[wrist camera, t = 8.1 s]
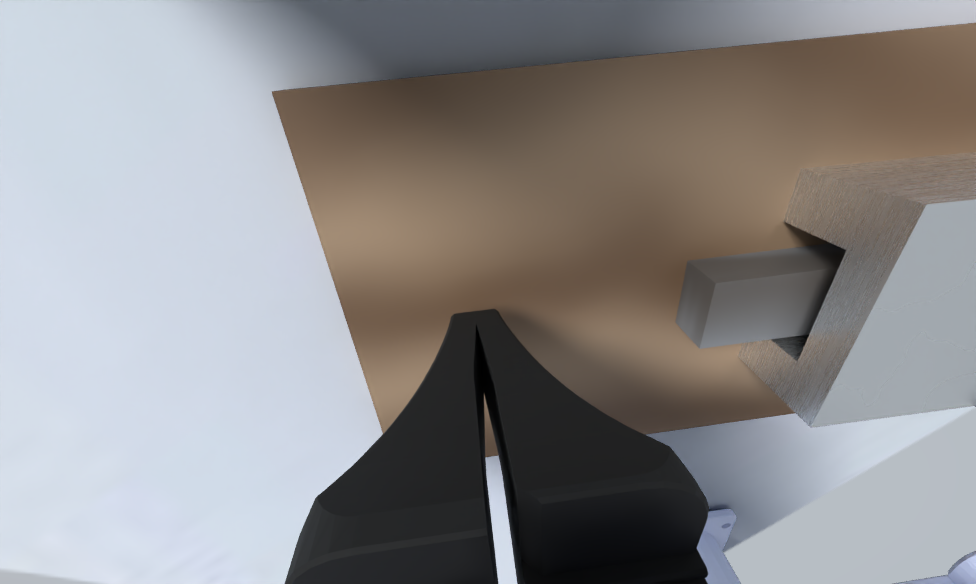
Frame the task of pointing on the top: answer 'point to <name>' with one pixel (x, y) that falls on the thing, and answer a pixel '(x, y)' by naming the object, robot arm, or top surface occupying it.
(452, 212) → the slide rail board
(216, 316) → the top surface
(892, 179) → the block
